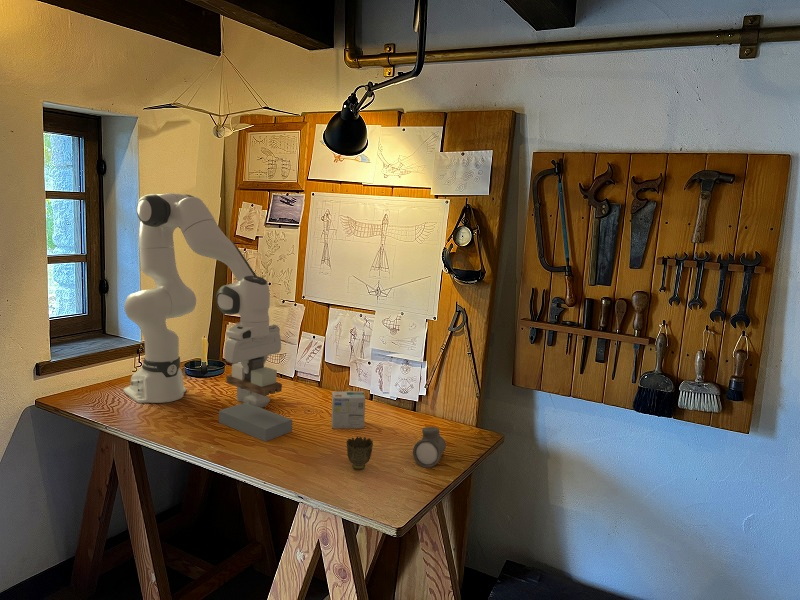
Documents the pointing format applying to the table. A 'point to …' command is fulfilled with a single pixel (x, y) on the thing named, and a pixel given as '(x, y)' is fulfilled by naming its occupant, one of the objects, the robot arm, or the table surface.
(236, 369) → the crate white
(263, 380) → the crate sage
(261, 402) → the stamp
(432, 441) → the pipe fitting
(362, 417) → the light bulb box
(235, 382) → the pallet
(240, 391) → the ink box
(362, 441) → the cup
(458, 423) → the table surface
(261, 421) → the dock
